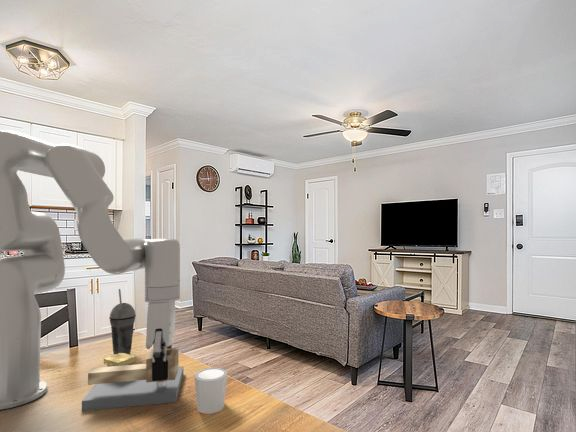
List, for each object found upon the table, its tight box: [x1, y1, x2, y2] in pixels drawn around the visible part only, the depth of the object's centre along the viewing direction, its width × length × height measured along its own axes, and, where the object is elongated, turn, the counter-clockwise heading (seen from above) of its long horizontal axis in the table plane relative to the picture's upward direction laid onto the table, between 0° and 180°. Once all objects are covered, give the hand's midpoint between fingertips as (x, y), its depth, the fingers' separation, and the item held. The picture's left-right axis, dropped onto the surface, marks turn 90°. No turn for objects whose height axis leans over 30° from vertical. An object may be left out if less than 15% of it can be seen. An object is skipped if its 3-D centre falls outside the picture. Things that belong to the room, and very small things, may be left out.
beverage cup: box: [109, 288, 137, 355], centre depth 105 cm, size 7×7×20 cm
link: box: [87, 347, 179, 386], centre depth 77 cm, size 18×6×5 cm, turn 101°
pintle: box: [156, 381, 167, 391], centre depth 78 cm, size 2×2×6 cm
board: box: [81, 365, 185, 412], centre depth 82 cm, size 19×15×2 cm
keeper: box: [103, 353, 137, 367], centre depth 86 cm, size 7×5×6 cm
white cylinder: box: [193, 367, 228, 415], centre depth 75 cm, size 7×7×7 cm
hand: (162, 372), depth 78 cm, fingers closed on link, 6 cm apart
